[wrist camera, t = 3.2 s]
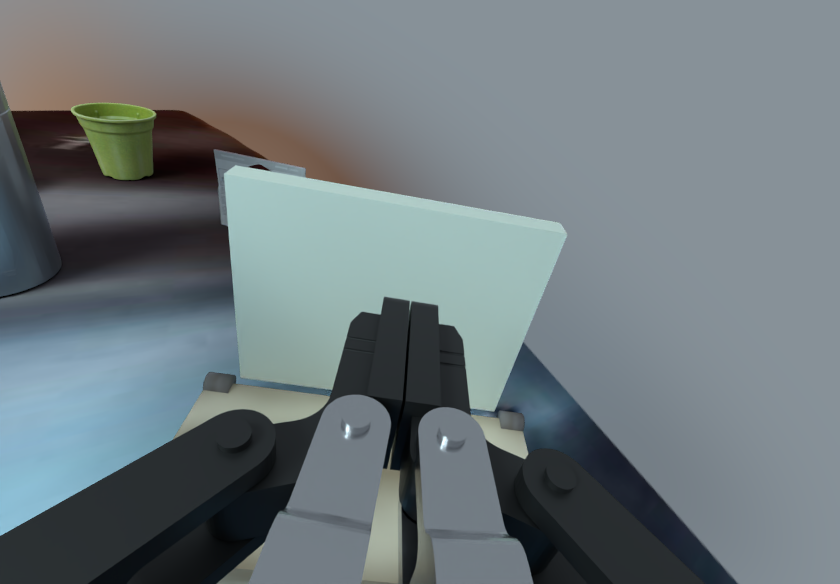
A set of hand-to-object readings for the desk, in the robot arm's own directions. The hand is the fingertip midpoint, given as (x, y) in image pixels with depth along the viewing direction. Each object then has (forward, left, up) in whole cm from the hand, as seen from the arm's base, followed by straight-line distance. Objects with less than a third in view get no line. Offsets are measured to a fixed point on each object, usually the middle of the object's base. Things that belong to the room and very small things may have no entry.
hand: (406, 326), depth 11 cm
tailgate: (-10, +7, -15) cm, 20 cm away
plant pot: (-64, -4, -19) cm, 67 cm away
